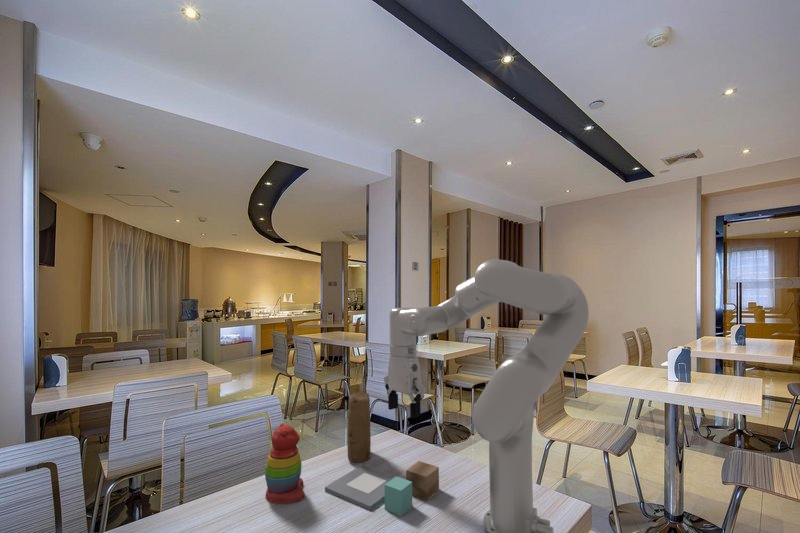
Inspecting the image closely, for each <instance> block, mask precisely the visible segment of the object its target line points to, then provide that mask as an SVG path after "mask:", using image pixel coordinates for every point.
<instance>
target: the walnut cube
mask: <svg viewBox="0 0 800 533" xmlns="http://www.w3.org/2000/svg"><path fill="white" fill-rule="evenodd" d="M439 468H440V467H439V466H437V465H433V464H429V463H427V462H423V461H420V460H418V461H417V462H415V463H414V464H412V465H411V466H410V467H408V468H407V469H406V470H405V479H406V480H408V481H411V482H412V496H414V497H416V498H419V499H422V500H424V501H428V500H429V499H430V498H432V497H433V496H434V494H435V493H437V492H438V491H439V490H440V469H439Z"/></svg>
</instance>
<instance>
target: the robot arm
mask: <svg viewBox="0 0 800 533" xmlns="http://www.w3.org/2000/svg"><path fill="white" fill-rule="evenodd" d="M454 291H455V292H454V296H452V297H451V298H449V299H447V300H446V301H444V302H442V303H440V304H438V305H435V306H425V307H416V308H412V307H394V308H391V310H390V311H389V359H388V368H387V369H388V370H387V375H386V376H385V377H384V378H383V381H384V385H385V386H384V388H385V389H386V395H387V396H388V397H387V398H388V400H387V401H388V402H387V404H388V410H390V411H391V410H395V409H398V408H399V394H398V393H400V394H403V395H407V396H408V397H409V400H410V404H409V408H410V409H409V413H410V414H409V416H410V418H411V419H415V418H419V417H421V403H422V402H423V399H424V398H425V394H426V392H427V388H426V387H425V385H424V384H422V374H421V373H422V372H421V364H420V360H419V357H418V356H417V354H418V350H417V337H424V336H429V335H435V334H439V333H443V332H445V331H448V330H450V329H451V328H453V327H455V326H458V325H459V324H462V323H464V322H465V321H467V320H468V319H470V318H472V317H473V316H474V315H477V314H478V313H480V312H482V311H484V310H486V309H488V308H490V307H492V306H494V305H497V304H499V303H504V304H508V305H510V306H513V307H516V308H518V309H522V310H524V311H528V312H531V313H535V314H538V315H545V317H544V319H543V320H542V322H541V323H540V324H539V325H538V327H537V329H536V330H535V331H534V333H533V335H532V337H531V338H530V340H529V341H528V342H527V344H526V345H525V346H524V348H523V349H522V350H521V351H520V352H519V353H517V354H515V355H513V356H510V357H508V358H506V359H505V360H504V361H503V362H502V363H501V364H500V365H499V366H498V368H497V369H496V370H495V372H494V373H493V375H492V376H491V378H490V379H489V381H488V383H486V386H485V387H484V388H483V391H482V392H481V394H480V396H479V397H478V399H477V400H476V402H475V403H474V406H473V408H472V415H471V416H472V419H471V420H472V424H473V427H474V429H475V431H476V433H477V434H478V436H480V437H481V439H483V440H485V441H487V442H489V443H488V462H489V463H488V467H489V468H488V469H489V474H488V475H489V476H488V477H489V510H488V511H486V512H485V514H484V515H483V527H484V530H485V531H486V533H554V527H552V526H551V521H550V520H548V519H544V518H541V517H540V515H538V509H537V508H536V507H534V497H533V492H534V491H533V488H534V487H533V430H534V415H535V413H534V412H535V411H534V404H535V403H536V401H537V400H538V399H539V398H540V397H541V396H542V395H544V394H545V393H547V391H549V389H550V388H551V387H552V385H553V383H554V382H555V380H556V378H557V377H558V375H559V373H560V372H561V370H562V369H563V367H564V366H565V365H566V363H567V362H568V360H569V359H570V357H571V355H572V354H573V352H574V350H575V349H576V348H577V347H578V346H577V345H578V344H579V343H580V340H582V337H583V336H584V333H585V331H586V329H587V326H588V322H589V314H590V313H589V304H588V301H587V298H586V296H585V293H584V291H583V290H582V288H581V287H580V285H578V283H577V282H575V281H574V280H573V279H572V278H570V277H569V276H566V275H564V274H559V273H549V272H543V271H541V270H540V271H538V270H536V269H535V270H534V269H532V268H527V267H525V266H524V267H523V266H520V265H518V264H517V263H516V262H513V261H510V260H506V259H498V258H493V259H488V260H486V261H484V262H482V263H481V264H480V265H479V266H478V267H477V268H476V270H475V273H474V275H473V276H472V277H470V278H468V279H466V280H464V281H462V282H461V283H459V284H458V285H456V288H455V289H454ZM414 395H415V396H414Z"/></svg>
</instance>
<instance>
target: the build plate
mask: <svg viewBox="0 0 800 533" xmlns="http://www.w3.org/2000/svg"><path fill="white" fill-rule="evenodd" d="M396 476H397V477H400V478H403V479H405V480H406V477H405V478H404V477H402V476H398V475H396V474H392V473H390V472H388V471H387V472H386V471H384V470H381V469H378V468H375V467H372V466H370V465H367V464H365V463H363V464H361V465H359V466H358V467H356V468H354V469H352V470H351V471H349V472H347V473H346V474H344V475H342V476H341V477H339V478H338V479H336V480H334V481H333V482H331V483H329V484H328V485H326V486H325V487H324V492H327V493H328V494H331V495H334V496H336V497H337V498H341V499H343V500H345V501H346V502H349V503H352V504H353V505H356V506H359V507H362V508H363V509H366V510H368V511H372V510H373V509H375V508H376V507H377V506H379V505H380V504H381V503H382V502H383V501H384V502H385V484H386V483H388V482H389V481H390V480H392V479H393V478H394V477H396Z"/></svg>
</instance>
